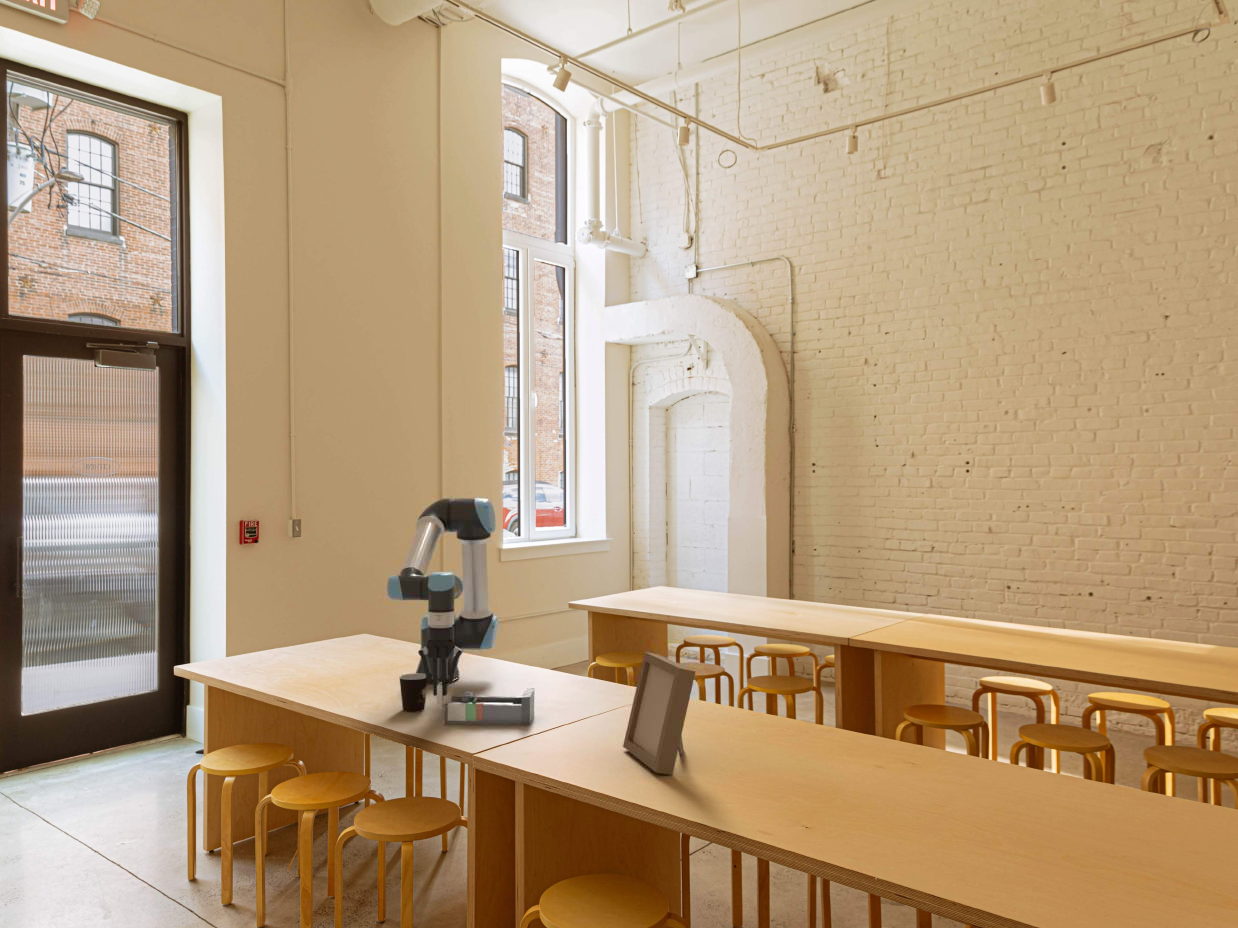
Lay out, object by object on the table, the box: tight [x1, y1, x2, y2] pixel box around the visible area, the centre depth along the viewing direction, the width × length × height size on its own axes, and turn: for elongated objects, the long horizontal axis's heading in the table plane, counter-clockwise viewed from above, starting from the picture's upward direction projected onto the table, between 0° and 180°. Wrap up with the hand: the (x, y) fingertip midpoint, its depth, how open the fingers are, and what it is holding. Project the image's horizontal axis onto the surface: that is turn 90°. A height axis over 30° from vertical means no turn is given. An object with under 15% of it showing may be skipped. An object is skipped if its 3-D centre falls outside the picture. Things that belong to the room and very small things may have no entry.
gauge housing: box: [443, 687, 535, 727], centre depth 250 cm, size 11×24×8 cm, turn 89°
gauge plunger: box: [461, 690, 513, 704], centre depth 249 cm, size 10×14×6 cm
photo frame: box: [622, 651, 697, 776], centre depth 215 cm, size 15×22×25 cm
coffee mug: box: [399, 672, 429, 713], centre depth 263 cm, size 12×9×10 cm
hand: (440, 706), depth 251 cm, fingers closed
